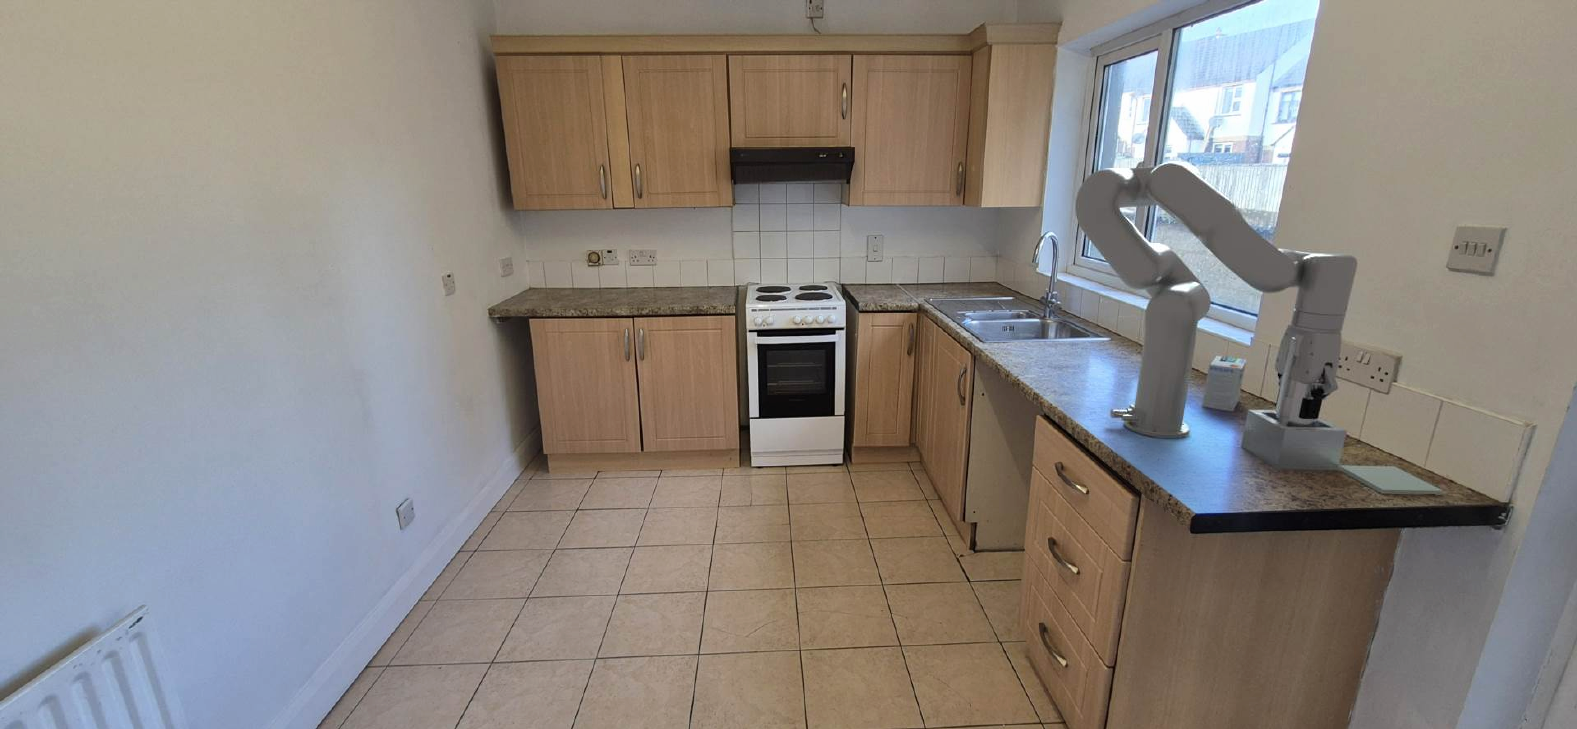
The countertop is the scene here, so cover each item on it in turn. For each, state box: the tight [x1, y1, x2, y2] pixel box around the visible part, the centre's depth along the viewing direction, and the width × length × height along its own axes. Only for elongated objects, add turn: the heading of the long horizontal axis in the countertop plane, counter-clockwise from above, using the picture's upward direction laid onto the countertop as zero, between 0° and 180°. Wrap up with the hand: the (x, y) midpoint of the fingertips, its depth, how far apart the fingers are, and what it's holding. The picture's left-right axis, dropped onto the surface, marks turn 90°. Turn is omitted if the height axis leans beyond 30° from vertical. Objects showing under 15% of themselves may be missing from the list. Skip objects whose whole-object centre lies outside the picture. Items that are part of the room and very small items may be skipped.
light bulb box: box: [1201, 355, 1247, 413], centre depth 158 cm, size 11×7×11 cm, turn 141°
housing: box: [1240, 409, 1348, 471], centre depth 127 cm, size 11×11×8 cm
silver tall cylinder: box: [1274, 334, 1323, 427], centre depth 125 cm, size 6×6×25 cm
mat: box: [1337, 464, 1444, 496], centre depth 118 cm, size 10×10×1 cm
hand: (1296, 411), depth 126 cm, fingers closed on silver tall cylinder, 5 cm apart
